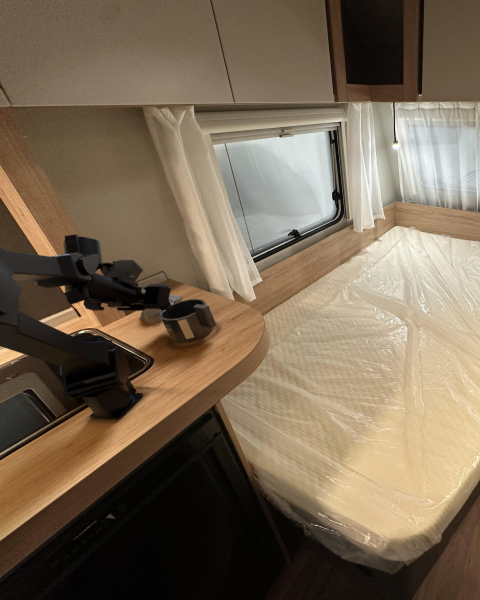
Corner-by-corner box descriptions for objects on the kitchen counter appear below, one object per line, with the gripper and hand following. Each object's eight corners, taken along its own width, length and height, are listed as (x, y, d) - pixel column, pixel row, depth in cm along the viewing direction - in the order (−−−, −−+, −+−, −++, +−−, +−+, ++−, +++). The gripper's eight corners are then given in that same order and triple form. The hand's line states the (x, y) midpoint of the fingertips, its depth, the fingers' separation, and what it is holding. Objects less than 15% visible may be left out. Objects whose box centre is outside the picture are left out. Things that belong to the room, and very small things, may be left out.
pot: (202, 348, 79) (188, 318, 75) (152, 337, 85) (136, 309, 80) (233, 324, 88) (222, 297, 84) (186, 316, 93) (173, 289, 89)
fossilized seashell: (133, 315, 94) (134, 293, 92) (172, 309, 103) (173, 289, 101) (153, 330, 90) (154, 308, 88) (191, 322, 100) (193, 302, 97)
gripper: (149, 254, 71) (194, 277, 86) (68, 254, 72) (127, 277, 87) (138, 301, 68) (186, 316, 83) (54, 301, 69) (117, 316, 84)
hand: (154, 305), depth 84 cm, fingers closed, pressing on pot
